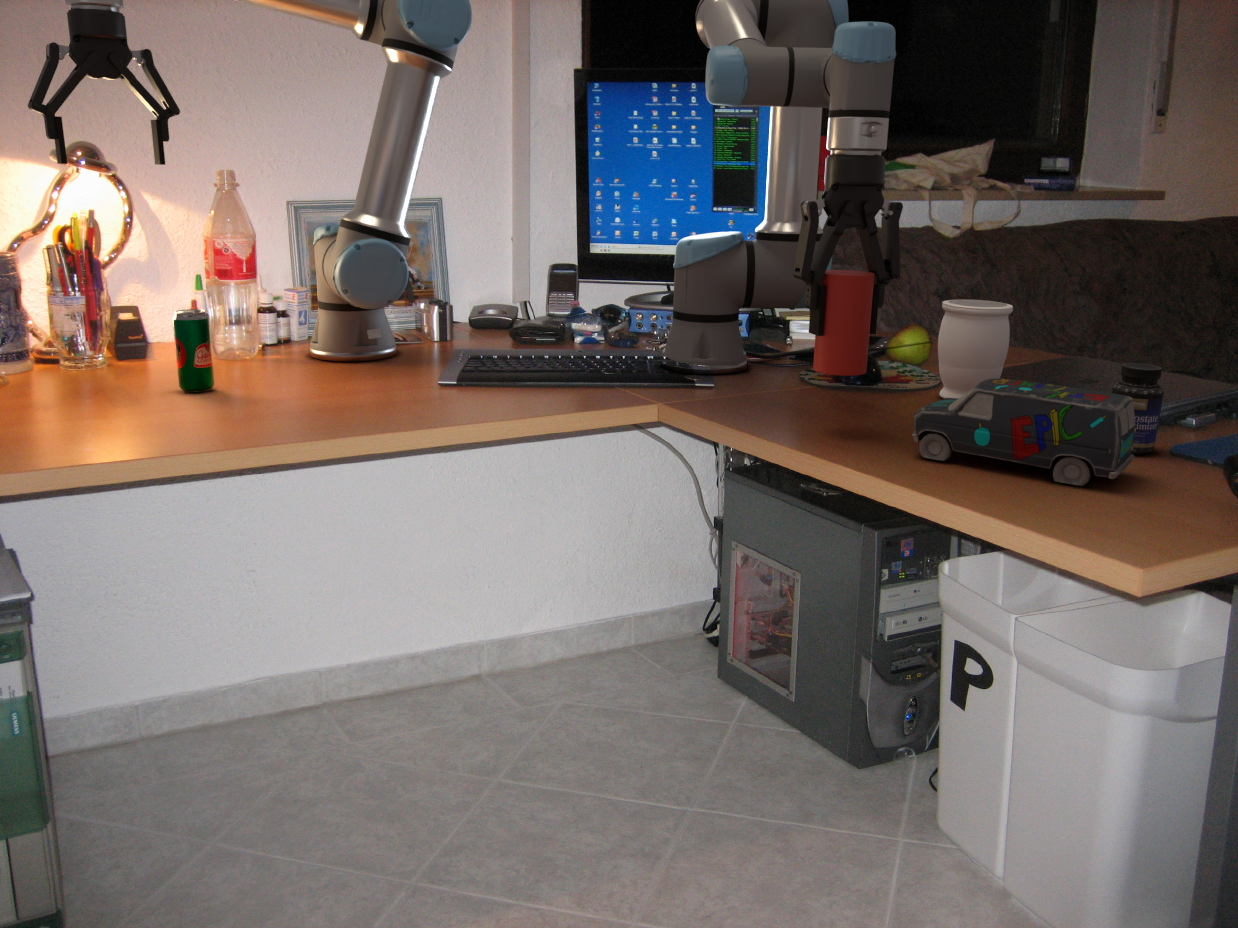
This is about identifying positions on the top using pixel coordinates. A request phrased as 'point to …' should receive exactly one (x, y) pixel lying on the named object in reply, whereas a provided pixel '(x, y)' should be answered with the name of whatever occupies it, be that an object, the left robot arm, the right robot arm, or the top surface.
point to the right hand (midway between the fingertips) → (842, 333)
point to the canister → (845, 323)
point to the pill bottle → (1142, 401)
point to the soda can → (193, 350)
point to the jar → (972, 344)
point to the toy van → (1033, 428)
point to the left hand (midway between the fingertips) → (112, 164)
